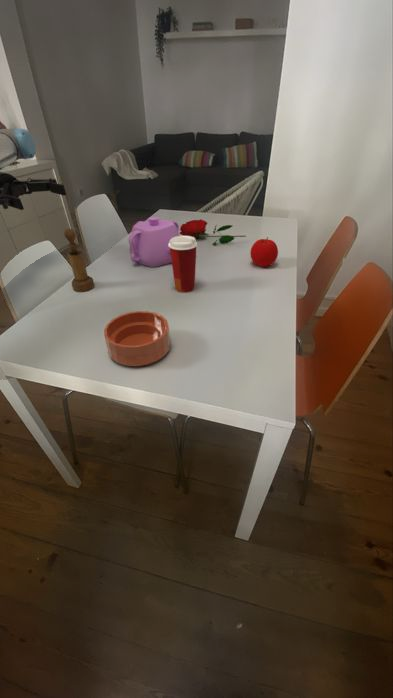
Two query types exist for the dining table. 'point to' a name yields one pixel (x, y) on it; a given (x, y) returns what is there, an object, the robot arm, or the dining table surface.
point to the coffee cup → (183, 262)
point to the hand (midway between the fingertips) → (43, 196)
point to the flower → (198, 228)
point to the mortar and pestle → (78, 265)
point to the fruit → (264, 252)
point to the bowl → (137, 338)
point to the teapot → (152, 241)
